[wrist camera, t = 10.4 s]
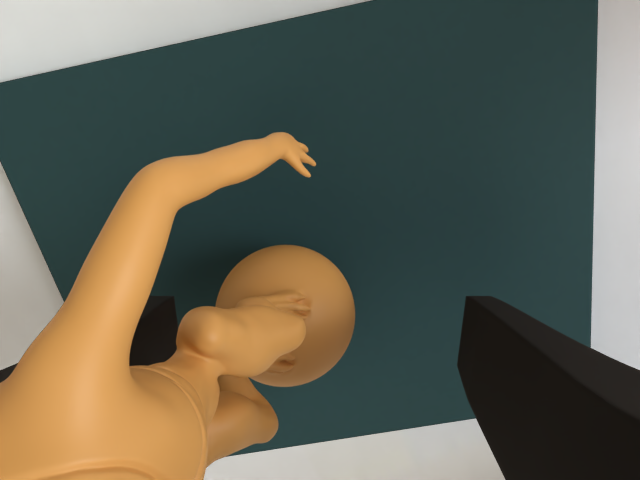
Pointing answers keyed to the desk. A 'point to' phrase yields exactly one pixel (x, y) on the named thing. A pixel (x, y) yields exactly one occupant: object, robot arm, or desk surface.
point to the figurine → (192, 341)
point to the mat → (346, 179)
